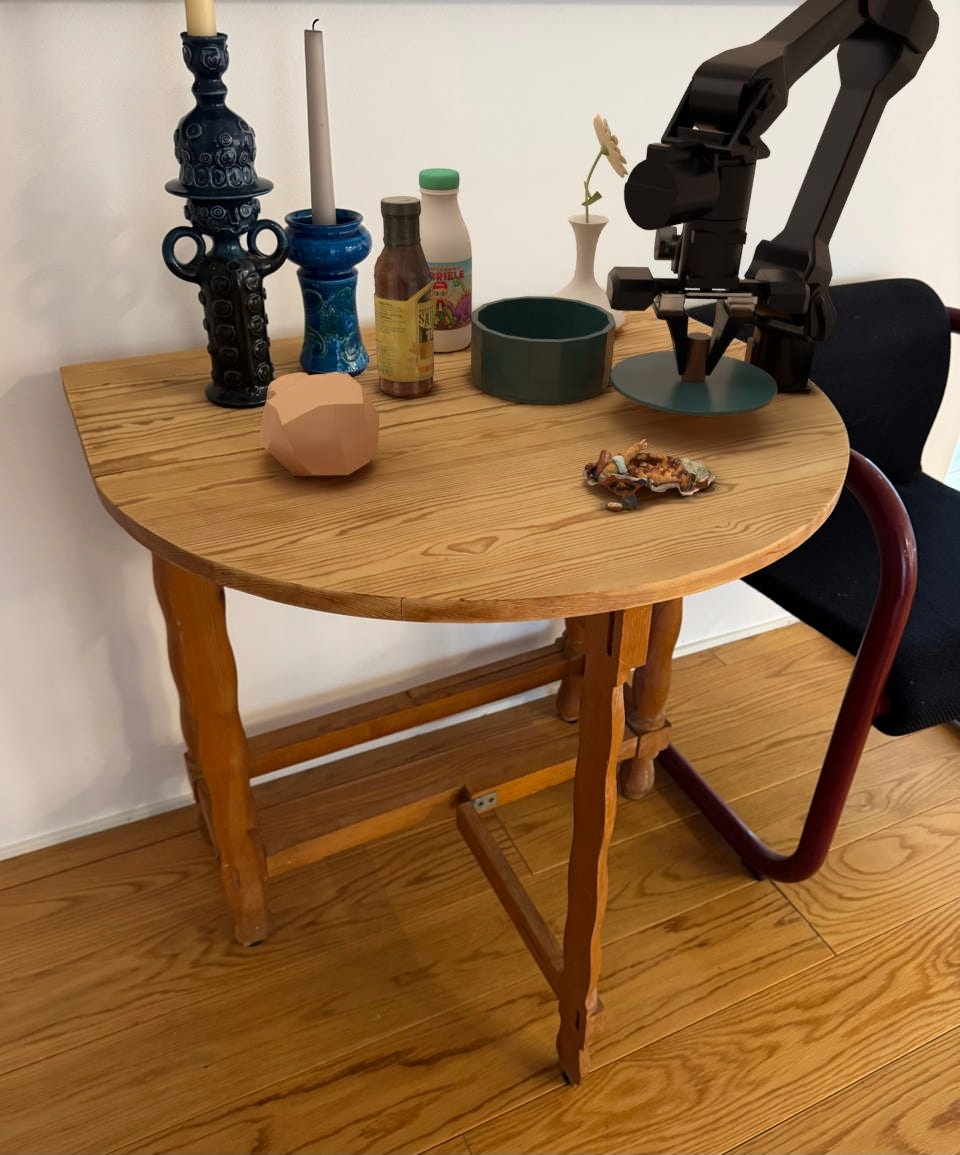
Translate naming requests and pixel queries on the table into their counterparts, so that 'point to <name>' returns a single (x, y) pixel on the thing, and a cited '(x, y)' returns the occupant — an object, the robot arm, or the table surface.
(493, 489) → the table surface
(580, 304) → the pot
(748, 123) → the robot arm
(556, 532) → the table surface
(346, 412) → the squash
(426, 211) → the milk bottle
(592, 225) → the flower in vase
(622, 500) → the pastry
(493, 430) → the table surface
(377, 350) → the sauce bottle
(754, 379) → the lid
